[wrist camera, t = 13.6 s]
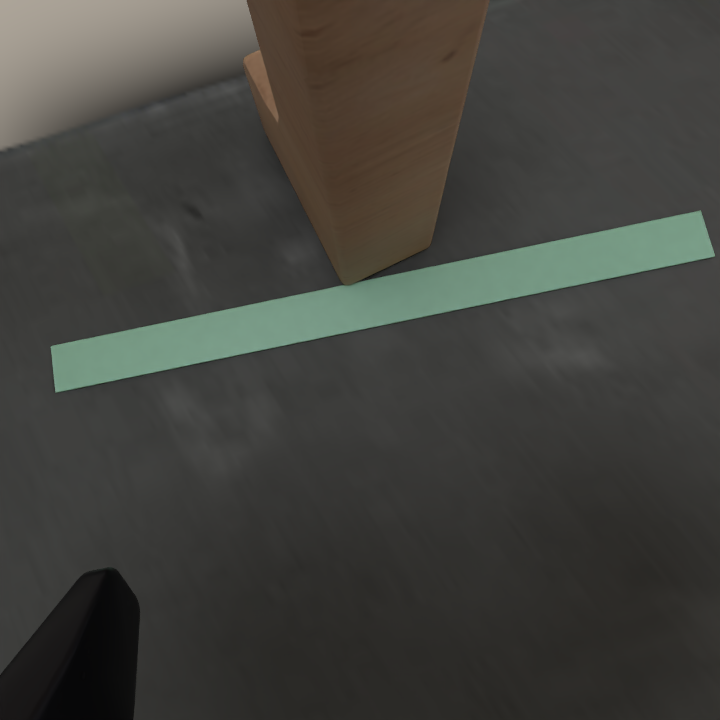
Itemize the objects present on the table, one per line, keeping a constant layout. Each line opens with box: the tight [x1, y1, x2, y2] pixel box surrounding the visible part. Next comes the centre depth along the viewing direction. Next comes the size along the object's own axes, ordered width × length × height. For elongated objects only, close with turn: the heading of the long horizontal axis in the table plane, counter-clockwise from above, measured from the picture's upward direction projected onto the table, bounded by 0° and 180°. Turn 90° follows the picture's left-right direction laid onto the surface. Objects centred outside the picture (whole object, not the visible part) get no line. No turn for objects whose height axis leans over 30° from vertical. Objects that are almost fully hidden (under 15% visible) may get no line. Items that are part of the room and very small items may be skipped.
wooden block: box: [243, 0, 490, 285], centre depth 13 cm, size 7×3×15 cm, turn 26°
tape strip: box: [51, 211, 715, 393], centre depth 19 cm, size 22×2×1 cm, turn 101°
